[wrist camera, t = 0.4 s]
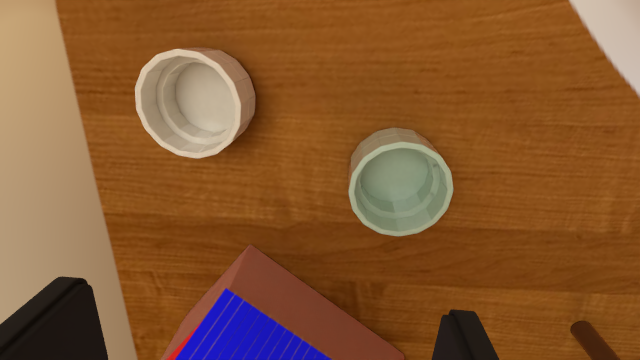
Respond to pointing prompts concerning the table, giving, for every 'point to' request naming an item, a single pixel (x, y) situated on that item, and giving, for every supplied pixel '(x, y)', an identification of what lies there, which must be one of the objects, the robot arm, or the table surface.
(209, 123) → the dish
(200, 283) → the table surface
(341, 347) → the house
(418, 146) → the dish
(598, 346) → the tray
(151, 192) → the table surface
